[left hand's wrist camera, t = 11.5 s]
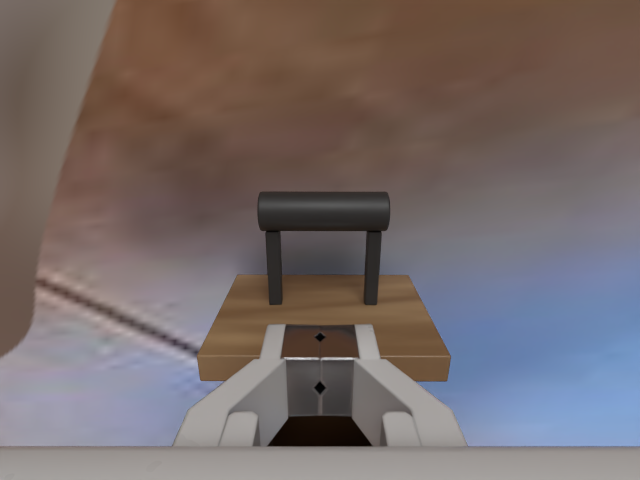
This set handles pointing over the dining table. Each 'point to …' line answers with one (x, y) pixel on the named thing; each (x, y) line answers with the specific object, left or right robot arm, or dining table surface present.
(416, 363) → the drawer
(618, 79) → the dining table surface
